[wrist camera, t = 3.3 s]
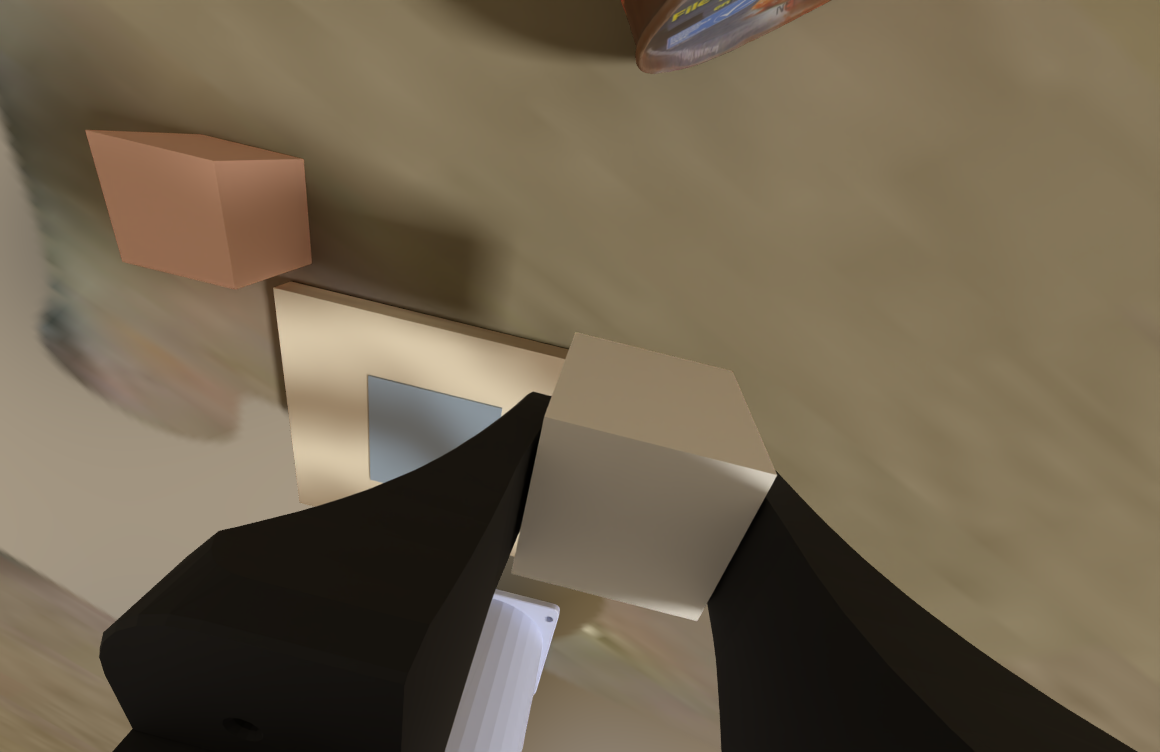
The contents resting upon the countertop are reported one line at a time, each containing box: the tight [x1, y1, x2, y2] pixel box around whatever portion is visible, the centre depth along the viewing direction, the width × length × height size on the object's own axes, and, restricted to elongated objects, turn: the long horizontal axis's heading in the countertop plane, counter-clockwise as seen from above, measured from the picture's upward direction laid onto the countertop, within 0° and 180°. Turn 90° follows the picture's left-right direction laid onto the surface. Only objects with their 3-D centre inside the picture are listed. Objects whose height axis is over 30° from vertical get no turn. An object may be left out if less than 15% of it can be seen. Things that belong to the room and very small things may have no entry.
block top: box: [85, 130, 312, 290], centre depth 16 cm, size 4×4×4 cm
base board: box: [273, 281, 569, 557], centre depth 21 cm, size 12×14×1 cm
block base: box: [511, 332, 777, 621], centre depth 10 cm, size 4×4×4 cm
